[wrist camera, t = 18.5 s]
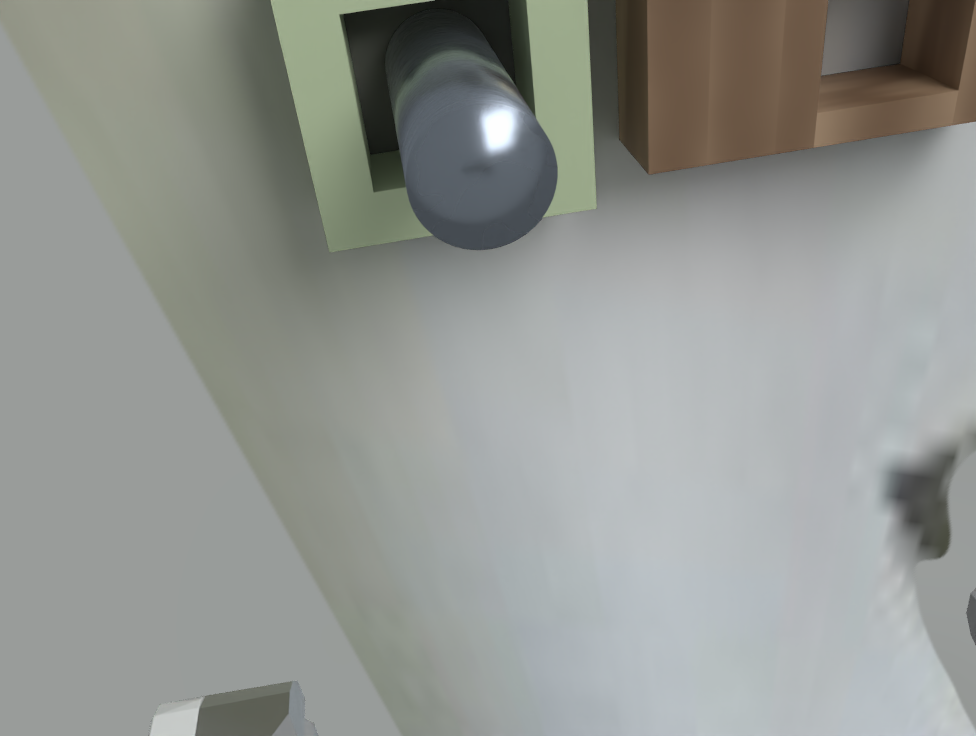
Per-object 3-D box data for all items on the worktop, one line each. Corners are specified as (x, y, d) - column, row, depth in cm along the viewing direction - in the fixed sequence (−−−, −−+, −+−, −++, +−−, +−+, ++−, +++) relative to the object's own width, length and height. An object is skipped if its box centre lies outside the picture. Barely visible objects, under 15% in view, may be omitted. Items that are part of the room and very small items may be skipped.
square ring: (556, -104, 30) (583, -92, 27) (572, 171, 36) (596, 208, 32) (268, -63, 30) (259, -46, 26) (330, 210, 35) (329, 252, 32)
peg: (485, 1, 32) (552, 91, 22) (496, 109, 34) (562, 236, 24) (376, 17, 32) (393, 116, 22) (394, 125, 34) (419, 260, 24)
